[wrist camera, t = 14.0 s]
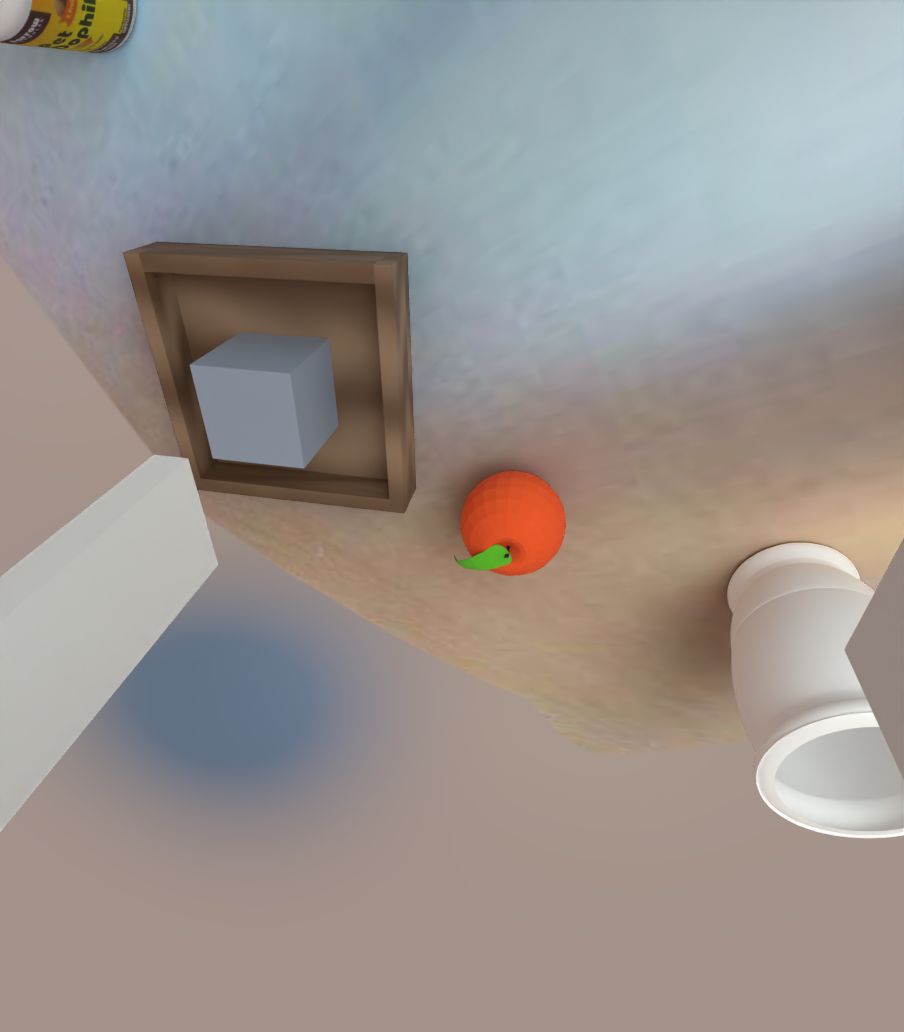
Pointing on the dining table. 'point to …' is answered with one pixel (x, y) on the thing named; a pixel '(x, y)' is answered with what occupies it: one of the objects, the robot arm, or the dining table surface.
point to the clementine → (512, 524)
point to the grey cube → (267, 398)
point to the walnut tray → (293, 312)
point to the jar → (810, 693)
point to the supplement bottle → (67, 23)
